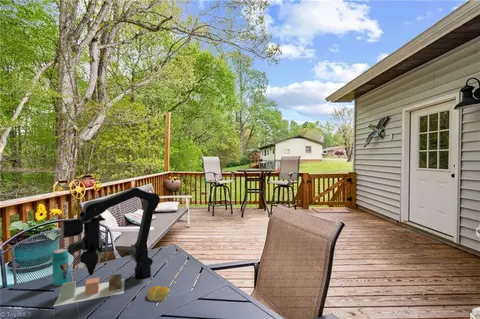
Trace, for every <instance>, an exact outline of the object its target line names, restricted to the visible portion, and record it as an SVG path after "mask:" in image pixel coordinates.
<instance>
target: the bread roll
mask: <svg viewBox="0 0 480 319" xmlns="http://www.w3.org/2000/svg"><path fill="white" fill-rule="evenodd" d="M171 295H172V291H171V289H170V288H169V287H167V286H164V285H163V286H160V285H154V286H153V287H151V288H149V289H148V291H147V294H146V297H147V300H148V301H150V302H151V301H152V302H163V301H165V300H166V299H168V298H170V297H171Z"/></svg>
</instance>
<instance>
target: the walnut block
mask: <svg viewBox="0 0 480 319" xmlns="http://www.w3.org/2000/svg"><path fill="white" fill-rule="evenodd" d="M121 280H122V273H117V274H112V275H109V279H108V282H109V291H112V290H117V289H121Z"/></svg>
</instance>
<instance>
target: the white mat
mask: <svg viewBox="0 0 480 319" xmlns="http://www.w3.org/2000/svg"><path fill="white" fill-rule="evenodd" d="M125 281H126V279H125V278H123V279H121V289H117V290H112V291H109V281H107V282H101V283H100V282H99V291H98V293H95V294H90V295H85V285H84V286H78V287H77V286H76V293H75V296H74V298H68V299H63V300H60V294H59V295H58V297H57V299H56V301H55V302H54V305H52V306H53V307H58V306H63V305H70V304H75V303H79V302H83V301H84V302H85V301H89V300H95V299H101V298H105V297H111V296H116V295H120V294H125V293H124V292H125Z"/></svg>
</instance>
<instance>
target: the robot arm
mask: <svg viewBox="0 0 480 319" xmlns="http://www.w3.org/2000/svg"><path fill="white" fill-rule="evenodd" d="M134 198H138V199H140V200H142V203H141V204H142V211H143V212H142V215H141V220H140V224H139V229H138V233H137V238H136V242H134V244H130V250H129V252H128V253H129V255H130V258H131V260H133V261H134V262H135V267H134V279H135V280H137V281H140V280H143V279H144V280H145V279H151V278H152V270H151V269H152V265H153V262H154V260H153V259H152V258H151V257H149V247H148V239H149V235H150V231H151V230H150V229H151V227H152V226H151V225H152V220H153V216H154V213H155V211H156V210H157V208H158V206H159V204H160V200H161V199H160V198H161V196H160V195H159V194H157V193H155V192H151V191H148V192H147V191H145V190H143V189H140V188H139V187H135V186H134V187H131V188H128V189H127V190H124V191H121V192H119V193H117V194H114V195H111V196H109V197H106V198H104V199H97V200H91V201H88V202H86V203H84V205H83V207H82V211H81V212H80V213H79V214H78V215H77V217H76V218H73V219H62V223H61V228H60V229H61V237H62V239H66V238H72V237H77V236H81V234H82V233H83V237H82V239H80V240H77V241H74V242H72V243H70V244H68V246H67V247H66V249H68V250H67V252H68V254H69V255H73V254H74V253H77V252H80V251H82V253H81V254H80V256H79V263H82V264H84V265H85V266H86V269H87V272H88V275H89V276H93V274H94V271H95V270H96V267H97V265H98V262H99V258H100V255H101V253H102V250H103V247H104V240H102V239H101V236H102V234H101V222H103V221H106V218H104V217H103V216H102V214H103V213H105V212H106V211H107V210H108V209H110V208H112V207H115V206H117V205H119V204H121V203H125V202H126V201H129V200H131V199H134Z"/></svg>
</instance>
